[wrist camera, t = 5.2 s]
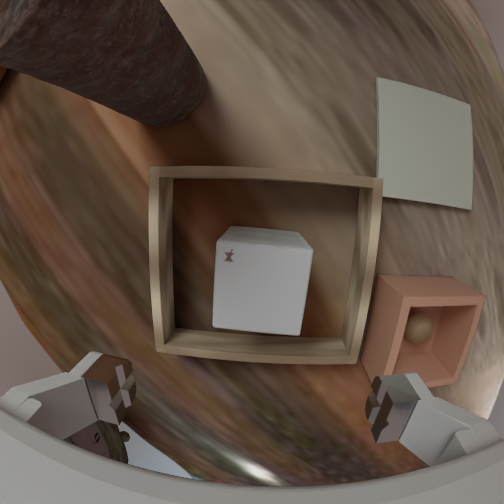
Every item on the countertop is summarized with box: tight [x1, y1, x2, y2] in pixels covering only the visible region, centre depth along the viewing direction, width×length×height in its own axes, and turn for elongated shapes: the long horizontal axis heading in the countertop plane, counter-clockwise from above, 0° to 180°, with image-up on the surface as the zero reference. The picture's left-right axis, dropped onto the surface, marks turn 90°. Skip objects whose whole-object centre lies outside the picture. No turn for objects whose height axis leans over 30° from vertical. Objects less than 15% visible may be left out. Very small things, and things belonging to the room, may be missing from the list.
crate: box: [149, 166, 383, 364], centre depth 24 cm, size 16×18×4 cm
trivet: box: [375, 77, 473, 210], centre depth 22 cm, size 11×11×1 cm
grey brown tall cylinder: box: [0, 0, 206, 126], centre depth 13 cm, size 8×7×20 cm
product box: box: [212, 226, 314, 336], centre depth 22 cm, size 6×6×7 cm
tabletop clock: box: [63, 419, 130, 464], centre depth 18 cm, size 14×9×25 cm, turn 2°
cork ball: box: [403, 311, 433, 345], centre depth 24 cm, size 3×3×3 cm
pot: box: [360, 274, 485, 388], centre depth 23 cm, size 9×9×6 cm
